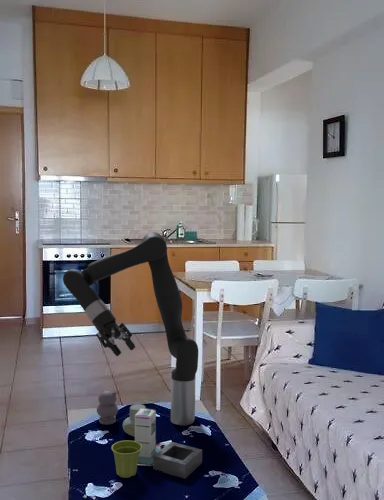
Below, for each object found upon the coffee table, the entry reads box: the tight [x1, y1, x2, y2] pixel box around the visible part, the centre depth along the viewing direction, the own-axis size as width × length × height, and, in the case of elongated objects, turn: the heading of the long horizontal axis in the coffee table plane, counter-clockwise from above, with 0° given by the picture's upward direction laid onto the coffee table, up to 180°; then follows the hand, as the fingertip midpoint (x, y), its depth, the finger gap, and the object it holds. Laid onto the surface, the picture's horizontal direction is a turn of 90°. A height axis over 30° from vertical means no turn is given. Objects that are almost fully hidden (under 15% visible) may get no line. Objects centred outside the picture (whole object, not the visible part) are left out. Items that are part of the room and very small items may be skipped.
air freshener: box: [122, 403, 147, 438], centre depth 198 cm, size 11×8×10 cm
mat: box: [138, 447, 163, 467], centre depth 182 cm, size 11×11×1 cm
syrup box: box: [134, 408, 157, 458], centre depth 181 cm, size 6×6×14 cm
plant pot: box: [111, 440, 142, 479], centre depth 169 cm, size 9×9×9 cm
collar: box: [152, 441, 203, 480], centre depth 175 cm, size 12×12×4 cm
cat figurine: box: [96, 388, 119, 426], centre depth 208 cm, size 8×8×12 cm
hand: (126, 351), depth 188 cm, fingers open, 8 cm apart
